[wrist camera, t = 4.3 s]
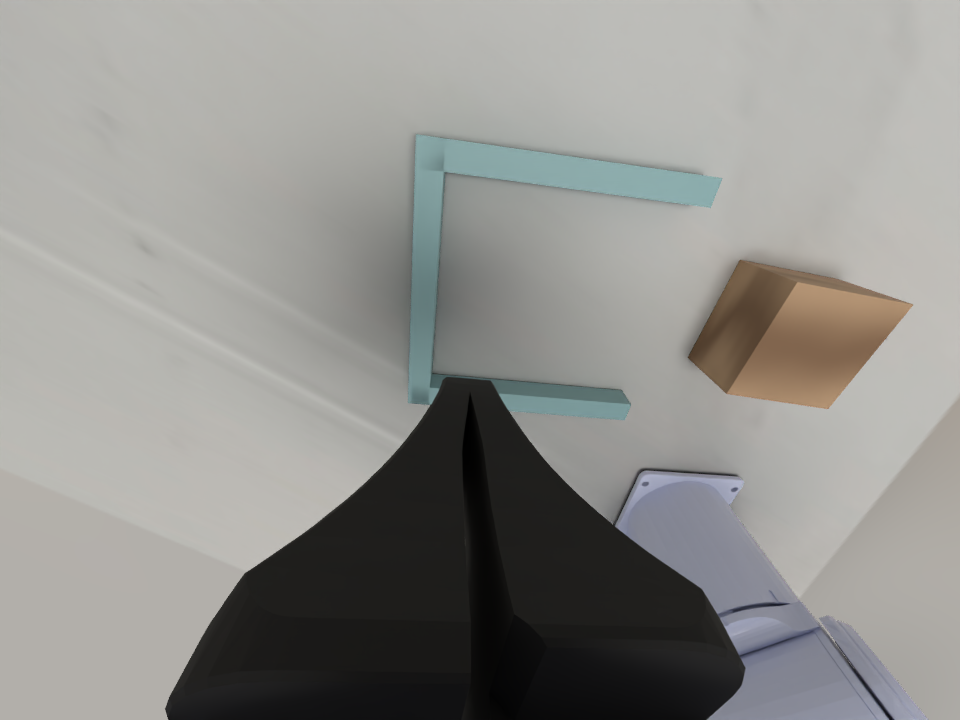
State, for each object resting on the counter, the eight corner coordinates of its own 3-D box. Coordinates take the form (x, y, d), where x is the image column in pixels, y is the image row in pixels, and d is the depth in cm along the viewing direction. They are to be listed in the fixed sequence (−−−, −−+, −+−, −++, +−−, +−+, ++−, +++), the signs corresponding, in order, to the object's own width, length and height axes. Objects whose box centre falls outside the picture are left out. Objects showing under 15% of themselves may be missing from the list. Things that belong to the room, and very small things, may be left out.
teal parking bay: (616, 405, 24) (624, 420, 22) (411, 388, 22) (407, 403, 21) (703, 176, 17) (722, 178, 16) (420, 135, 16) (415, 134, 15)
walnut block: (772, 370, 23) (828, 408, 19) (686, 356, 22) (726, 393, 19) (835, 278, 20) (913, 304, 16) (737, 259, 19) (797, 282, 16)
